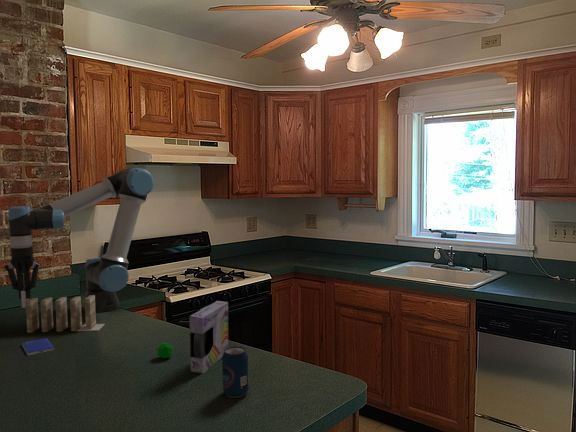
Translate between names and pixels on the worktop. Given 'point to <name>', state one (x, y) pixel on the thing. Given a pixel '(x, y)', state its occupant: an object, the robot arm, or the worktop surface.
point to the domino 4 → (75, 313)
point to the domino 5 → (90, 312)
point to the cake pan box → (208, 336)
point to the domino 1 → (32, 314)
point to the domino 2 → (47, 314)
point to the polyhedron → (164, 350)
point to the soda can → (235, 372)
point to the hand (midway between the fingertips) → (25, 306)
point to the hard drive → (37, 346)
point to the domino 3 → (61, 313)
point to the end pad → (95, 328)
